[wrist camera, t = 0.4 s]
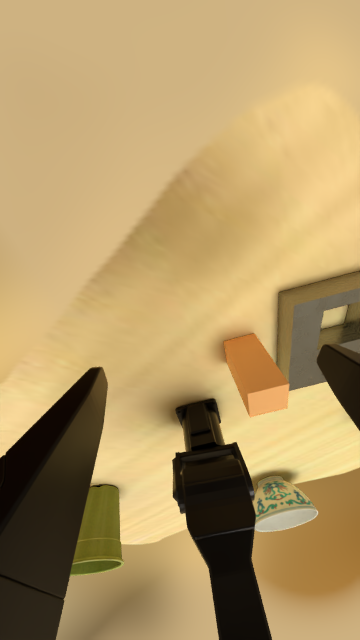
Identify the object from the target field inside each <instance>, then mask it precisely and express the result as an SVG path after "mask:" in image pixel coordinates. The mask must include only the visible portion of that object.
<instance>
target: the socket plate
mask: <svg viewBox="0 0 360 640" xmlns="http://www.w3.org/2000/svg"><path fill="white" fill-rule="evenodd" d="M345 305H349V307H348V311H347V315H346V319H345V323H344V324H342V325H338V326H335V327H331V328H327V329H323V330H320V329H321V323H322V318H323V312H324V311H326V310H329V309H333V308H337V307H341V306H345ZM330 343H334V344H338V345H340V346H342V347H345V348H347V349H350V350H352V351H355V352H357V353H360V271H358V272H354V273H350V274H346V275H343V276H339V277H335V278H331V279H328V280H324V281H320V282H316V283H313V284H309V285H305V286H302V287H298V288H294V289H290V290H287V291H283V292H279V307H278V343H277V367H278V368H279V370H280V371H281V372H282V374H283V375H284V377H285V378H286V380H287V381H288V382H289V391H291V390H295V389H299V388H303V387H307V386H311V385H315V384H319V383H323V382H327V380H326V379H325V377H324V375H323V374H322V372H321V370H320V368H319V367H318V365H317V361H316V360H317V356H318V354H319V352H320V349H321V347H322V346H323V345H324V344H330Z"/></svg>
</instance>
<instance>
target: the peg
mask: <svg viewBox="0 0 360 640" xmlns="http://www.w3.org/2000/svg"><path fill="white" fill-rule="evenodd" d="M224 347H225V353H226V359H227V364H228V366H229V369H230V371H231V374H232V376H233V378H234V381H235V383H236V385H237V388H238V390H239V393H240V395H241V397H242V400H243V402H244V405H245V407H246V409H247V412H248V414H249V416H250V417H253V416H257V415H261V414H265V413H269V412H273V411H278V410H282V409H286V408H287V407H288V395H289V382H288V381H287V380H286V378H285V377H284V375H283V374H282V372H281V371H280V370H279V368H278V367H277V365H276V364H275V362H274V361H273V359H272V358H271V357H270V355H269V354H268V352H267V351H266V349H265V348H264V346H263V345H262V344H261V342H260V341H259V339H258V338H257V336H256V335H255V334H250V335H246V336H242V337H238V338H235V339H231V340H227V341H224Z"/></svg>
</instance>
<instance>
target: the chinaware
mask: <svg viewBox="0 0 360 640" xmlns="http://www.w3.org/2000/svg"><path fill="white" fill-rule="evenodd" d="M257 485H258V489H257V491H256V493H255V500H254V501H252V502H253V506H254V509H255V513H256V521H255V530H256V531H260V532H271V531H278V530H284V529H288V528H292V527H295V526H298V525H301V524H304V523H306V522H308V521H310V520H312V519H314V518H315V517H316V516H317V515H318V511H317V509H316V508H315V507H314V505H313V504H312V502H311V501H310V500H309V499H308V497H307V496H306V495H305V494H304V493H303V492H302V491H301V490H300V489H298V488H297V487H295V486H294V485H292V484H290V483H288V482H286V481H284V480H283V478H282V477H281V476H270V477H267V478H264V479H262V480H260V481H259V482H258V484H257Z"/></svg>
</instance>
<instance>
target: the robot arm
mask: <svg viewBox="0 0 360 640" xmlns="http://www.w3.org/2000/svg"><path fill="white" fill-rule="evenodd" d="M316 361H317V365H318V367H319V368H320V370H321V372H322V374H323V375H324V377H325V379H326V380H327V382H328V384H329V386H330V387H331V389H332V391H333V393H334V394H335V396H336V398H337V399H338V401H339V402H340V404H341V405H342V406H343V408H344V409H345V411H346V412H347V414H348V415H349V416H350V418H351V419H352V421H353V422H354V423H355V425H356V426H357V428H358V429H359V431H360V353H357V352H355V351H352V350H350V349H347V348H345V347H342V346H340V345H338V344H334V343H330V344H324V345H323V346H322V347H321V349H320V352H319V354H318V356H317V360H316ZM107 388H108V383H107V379H106V376H105V373H104V370H103V368H102V367H92V368H90V369H89V370H88V371H87V372H86V373H85V374H84V375H83V376H82V377H81V378H80V379H79V380H78V381H77V382H76V383H75V384H74V385H73V386H72V387H71V388H70V389H69V390H68V391H67V392H66V393H65V394H64V395H63V396H62V397H61V398H60V399H59V400H58V401H57V402H56V403H55V404H54V405H53V406H52V407H51V408H50V409H49V410H48V411H47V412H46V413H45V414H44V415H43V416H42V417H41V418H40V419H39V420H38V421H37V422H36V423H35V424H34V425H33V426H32V427H31V428H30V429H29V430H28V431H27V432H26V433H25V434H24V435H23V436H22V437H21V438H20V439H19V440H18V441H17V442H16V443H15V444H14V445H13V446H12V447H11V448H10V449H9V450H8V451H7V452H6V454H5V455H3V456H2V457H1V458H0V640H56V636H57V631H58V627H59V622H60V618H61V614H62V609H63V605H64V598H65V595H66V591H67V586H68V582H69V577H70V573H71V568H72V564H73V559H74V555H75V550H76V546H77V541H78V537H79V533H80V528H81V524H82V519H83V515H84V510H85V506H86V501H87V497H88V492H89V488H90V483H91V479H92V474H93V470H94V466H95V461H96V457H97V452H98V448H99V443H100V439H101V434H102V430H103V424H104V416H105V407H106V397H107ZM176 414H177V416H178V419H179V421H180V423H181V425H182V428H183V432H184V441H185V449H186V452H182V453H179V452H177V453H176V457H175V458H174V459H173V460H172V462H173V498H174V499H175V500H176V501H177V502H178V506H179V508H180V513H181V514H183V513H186V521H187V528H188V530H189V532H190V535H191V537H192V539H193V541H194V542H195V545H196V546H197V548H198V550H199V552H200V554H201V556H202V557H203V559H204V561H205V563H206V564H207V566H208V568H209V573H210V580H211V587H212V593H213V601H214V607H215V614H216V621H217V628H218V635H219V640H272V637H271V634H270V630H269V626H268V622H267V618H266V614H265V611H264V607H263V603H262V599H261V595H260V591H259V587H258V584H257V580H256V576H255V572H254V568H253V564H252V560H251V557H252V548H253V539H254V530H255V521H256V513H255V509H254V506H253V502H252V501H254V500H255V495H254V489H253V485H252V481H251V478H250V475H249V472H248V469H247V467H246V464H245V462H244V459H243V457H242V454H241V452H240V450H239V447H238V445H237V442H234V443H232V444H227V445H225V443H224V439H223V435H222V432H221V428H220V425H219V424H220V423H221V420H220V416H219V412H218V408H217V403H216V400H215V399H211V400H207V401H203V402H199V403H195V404H191V405H187V406H183V407H179V408H177V409H176Z"/></svg>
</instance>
